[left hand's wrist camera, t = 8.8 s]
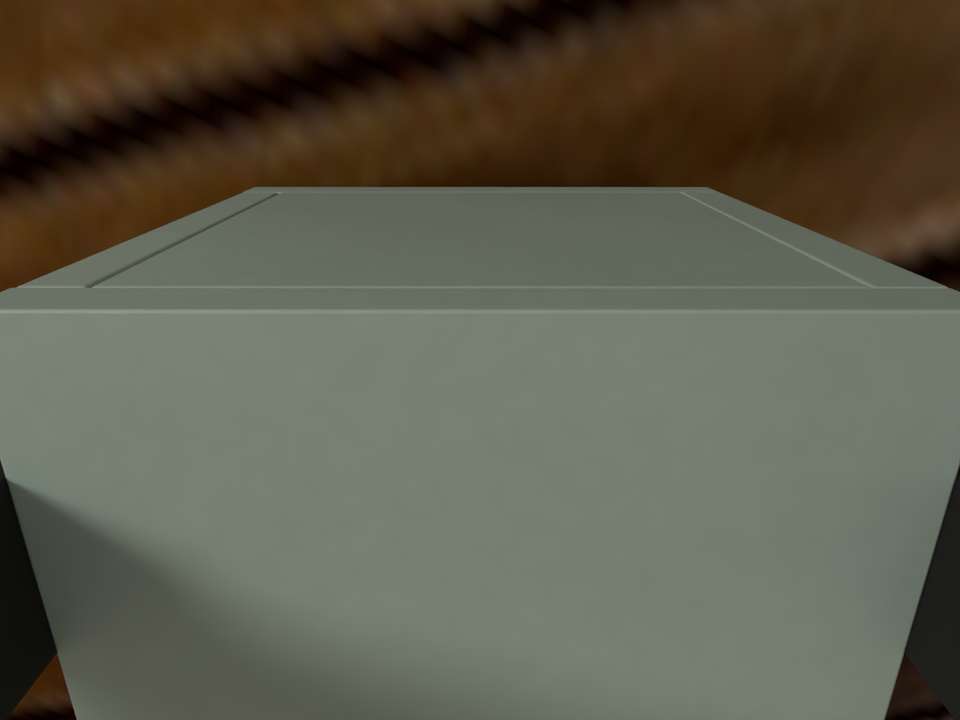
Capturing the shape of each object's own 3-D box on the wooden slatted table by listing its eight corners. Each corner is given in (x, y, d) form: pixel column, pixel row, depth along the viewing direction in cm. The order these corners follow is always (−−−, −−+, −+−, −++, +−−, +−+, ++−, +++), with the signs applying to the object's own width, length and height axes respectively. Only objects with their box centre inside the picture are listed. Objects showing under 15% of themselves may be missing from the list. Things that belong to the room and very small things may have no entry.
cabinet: (637, 775, 25) (738, 1216, 15) (323, 774, 25) (221, 1215, 15) (708, 187, 17) (1008, 310, 7) (253, 186, 17) (-47, 309, 7)
